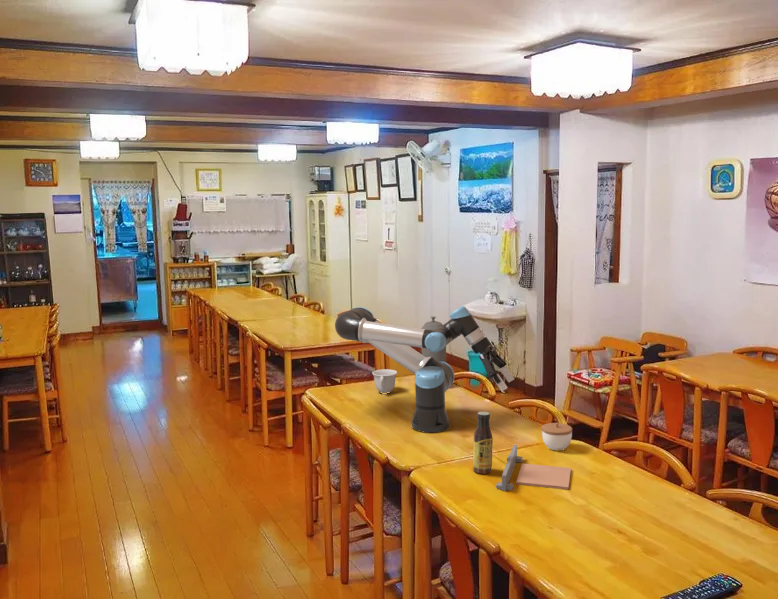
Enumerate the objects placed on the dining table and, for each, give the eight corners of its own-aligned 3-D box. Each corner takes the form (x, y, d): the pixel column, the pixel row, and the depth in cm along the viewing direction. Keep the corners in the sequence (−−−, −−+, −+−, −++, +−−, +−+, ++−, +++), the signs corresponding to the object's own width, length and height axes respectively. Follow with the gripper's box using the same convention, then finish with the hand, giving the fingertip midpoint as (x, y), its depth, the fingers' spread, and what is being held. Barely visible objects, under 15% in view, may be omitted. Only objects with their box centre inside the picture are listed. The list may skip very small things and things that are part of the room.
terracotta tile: (516, 484, 215) (516, 481, 215) (522, 465, 230) (522, 463, 230) (568, 489, 210) (568, 487, 210) (570, 470, 226) (571, 468, 225)
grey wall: (495, 490, 211) (495, 474, 211) (508, 457, 238) (508, 444, 237) (512, 491, 210) (512, 476, 209) (522, 459, 236) (522, 445, 235)
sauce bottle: (480, 476, 222) (479, 417, 219) (469, 469, 228) (469, 412, 225) (496, 472, 225) (496, 414, 222) (485, 466, 231) (485, 409, 228)
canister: (448, 384, 336) (447, 314, 331) (445, 391, 324) (445, 318, 319) (422, 383, 338) (421, 314, 334) (419, 390, 326) (418, 318, 321)
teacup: (369, 397, 316) (368, 376, 315) (375, 389, 331) (374, 368, 329) (394, 398, 314) (394, 377, 313) (399, 389, 329) (399, 369, 327)
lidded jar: (574, 445, 249) (574, 420, 247) (569, 455, 239) (569, 429, 238) (544, 441, 253) (545, 417, 252) (538, 451, 244) (538, 425, 242)
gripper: (477, 342, 262) (509, 388, 260) (492, 330, 285) (521, 372, 283) (462, 352, 265) (493, 398, 263) (478, 339, 288) (506, 381, 286)
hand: (508, 385), depth 273 cm, fingers open, 13 cm apart
